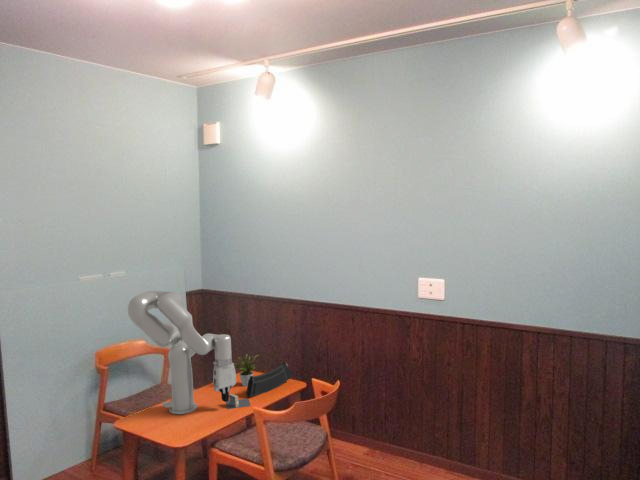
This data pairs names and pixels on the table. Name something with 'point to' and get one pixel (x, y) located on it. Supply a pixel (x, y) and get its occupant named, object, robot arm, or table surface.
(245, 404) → the mat
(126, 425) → the table surface
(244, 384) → the house plant
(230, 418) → the table surface
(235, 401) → the tile
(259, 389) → the magazine
